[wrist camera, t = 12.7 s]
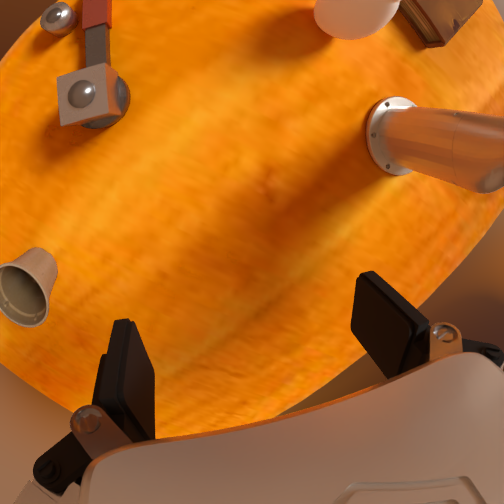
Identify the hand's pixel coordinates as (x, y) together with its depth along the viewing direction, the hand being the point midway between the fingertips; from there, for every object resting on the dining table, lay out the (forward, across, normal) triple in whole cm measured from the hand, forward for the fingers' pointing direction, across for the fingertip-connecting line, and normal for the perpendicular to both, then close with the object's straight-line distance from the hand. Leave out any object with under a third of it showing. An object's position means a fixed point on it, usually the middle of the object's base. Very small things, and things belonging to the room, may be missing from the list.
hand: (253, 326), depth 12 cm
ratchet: (+28, +11, -20) cm, 36 cm away
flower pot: (+28, +26, +7) cm, 39 cm away
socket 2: (+25, +11, -13) cm, 30 cm away
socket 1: (+28, +16, -26) cm, 42 cm away
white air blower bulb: (+28, -19, -22) cm, 41 cm away
